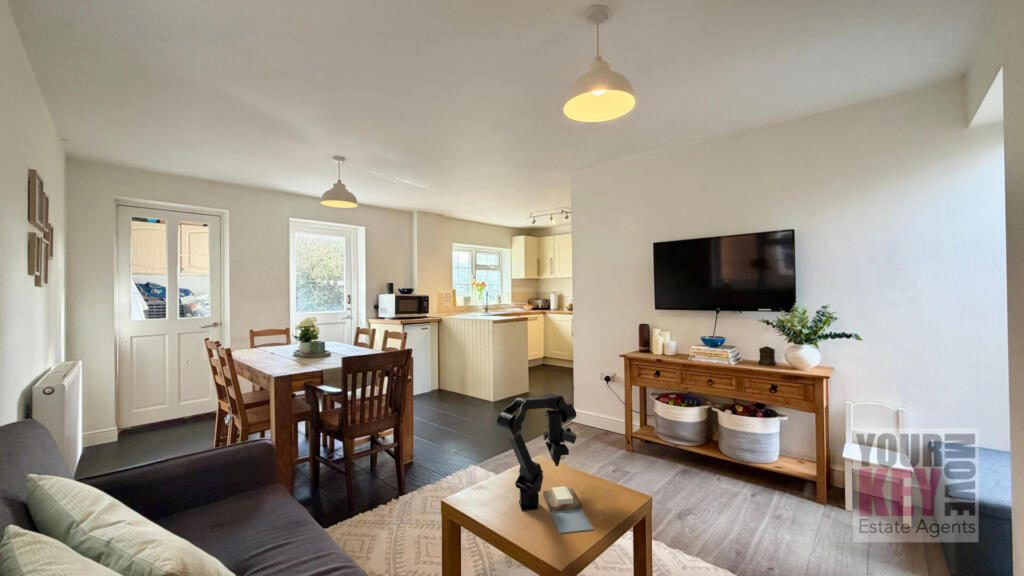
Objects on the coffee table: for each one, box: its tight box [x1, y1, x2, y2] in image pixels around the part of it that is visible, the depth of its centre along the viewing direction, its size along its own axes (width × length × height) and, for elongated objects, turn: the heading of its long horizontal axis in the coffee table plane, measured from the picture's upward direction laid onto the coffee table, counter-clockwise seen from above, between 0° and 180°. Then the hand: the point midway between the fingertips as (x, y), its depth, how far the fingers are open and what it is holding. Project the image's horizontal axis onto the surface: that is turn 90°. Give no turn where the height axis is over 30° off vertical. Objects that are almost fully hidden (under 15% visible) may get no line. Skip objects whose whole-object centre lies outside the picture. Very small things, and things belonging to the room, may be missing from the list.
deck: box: [542, 487, 583, 512], centre depth 161 cm, size 12×12×2 cm
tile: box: [551, 485, 573, 505], centre depth 160 cm, size 6×9×2 cm, turn 8°
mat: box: [549, 508, 594, 535], centre depth 148 cm, size 12×13×1 cm
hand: (555, 463), depth 169 cm, fingers open, 4 cm apart
